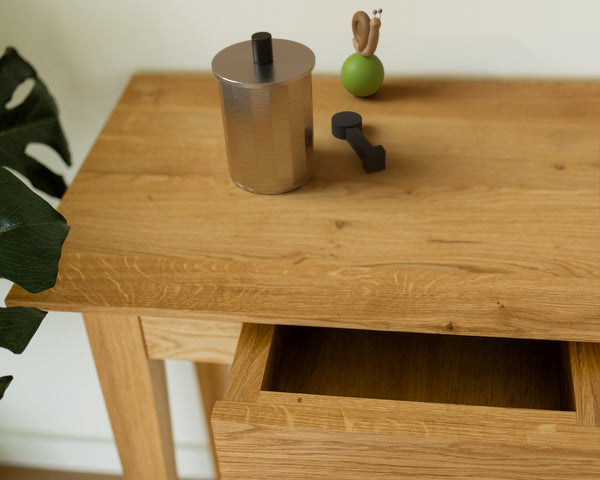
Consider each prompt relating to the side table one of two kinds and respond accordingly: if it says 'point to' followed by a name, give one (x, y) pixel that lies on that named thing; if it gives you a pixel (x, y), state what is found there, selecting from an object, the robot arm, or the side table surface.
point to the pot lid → (263, 62)
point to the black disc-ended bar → (358, 140)
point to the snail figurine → (363, 57)
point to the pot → (269, 136)
